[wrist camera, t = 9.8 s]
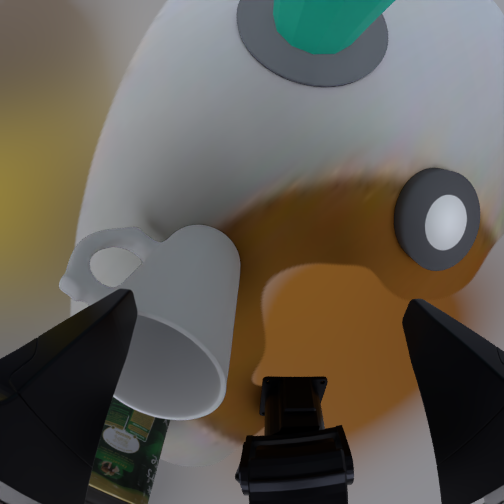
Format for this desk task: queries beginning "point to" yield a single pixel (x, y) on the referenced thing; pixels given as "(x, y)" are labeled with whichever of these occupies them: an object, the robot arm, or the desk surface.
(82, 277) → the mug
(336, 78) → the slate coaster
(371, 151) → the desk surface
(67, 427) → the robot arm
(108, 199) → the desk surface
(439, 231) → the dark grey washer
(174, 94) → the desk surface
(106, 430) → the coffee jar
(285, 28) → the candle
